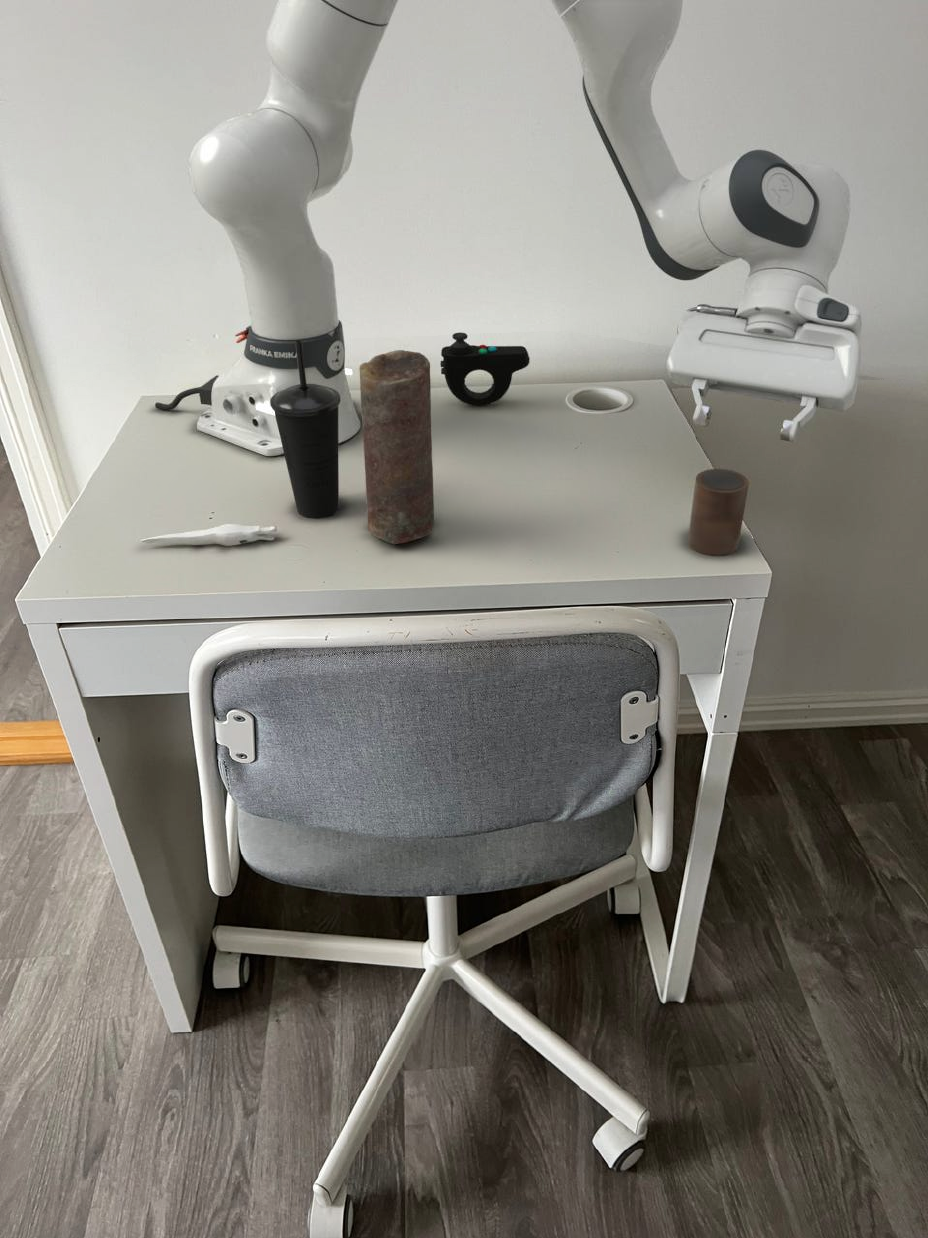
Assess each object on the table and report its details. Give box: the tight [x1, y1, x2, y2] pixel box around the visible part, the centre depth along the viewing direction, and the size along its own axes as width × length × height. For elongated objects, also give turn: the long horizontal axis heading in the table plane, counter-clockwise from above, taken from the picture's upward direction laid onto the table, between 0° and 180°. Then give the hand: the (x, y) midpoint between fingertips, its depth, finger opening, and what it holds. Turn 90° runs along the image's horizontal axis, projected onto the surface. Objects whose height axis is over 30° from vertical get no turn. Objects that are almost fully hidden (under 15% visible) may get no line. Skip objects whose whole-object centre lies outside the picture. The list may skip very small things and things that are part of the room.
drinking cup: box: [270, 340, 341, 519], centre depth 109 cm, size 8×8×20 cm
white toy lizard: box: [139, 523, 278, 547], centre depth 108 cm, size 15×3×2 cm, turn 96°
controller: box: [439, 332, 531, 407], centre depth 136 cm, size 4×12×10 cm, turn 90°
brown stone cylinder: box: [358, 349, 435, 545], centre depth 103 cm, size 8×7×20 cm
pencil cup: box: [687, 468, 750, 557], centre depth 104 cm, size 5×5×8 cm
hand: (742, 431), depth 106 cm, fingers open, 8 cm apart
